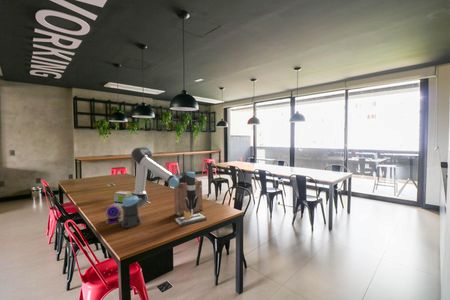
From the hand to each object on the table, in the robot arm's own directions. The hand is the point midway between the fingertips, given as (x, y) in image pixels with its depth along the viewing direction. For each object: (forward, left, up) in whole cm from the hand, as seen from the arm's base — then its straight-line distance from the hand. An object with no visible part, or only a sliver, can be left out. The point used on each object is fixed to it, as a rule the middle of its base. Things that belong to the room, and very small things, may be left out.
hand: (191, 216), depth 189 cm
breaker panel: (0, -1, -3) cm, 3 cm away
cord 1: (-8, -1, -3) cm, 9 cm away
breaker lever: (0, -4, -1) cm, 5 cm away
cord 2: (+8, -1, -3) cm, 8 cm away
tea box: (-81, -44, -4) cm, 93 cm away
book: (-19, +6, -3) cm, 20 cm away
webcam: (-37, -57, -4) cm, 68 cm away
